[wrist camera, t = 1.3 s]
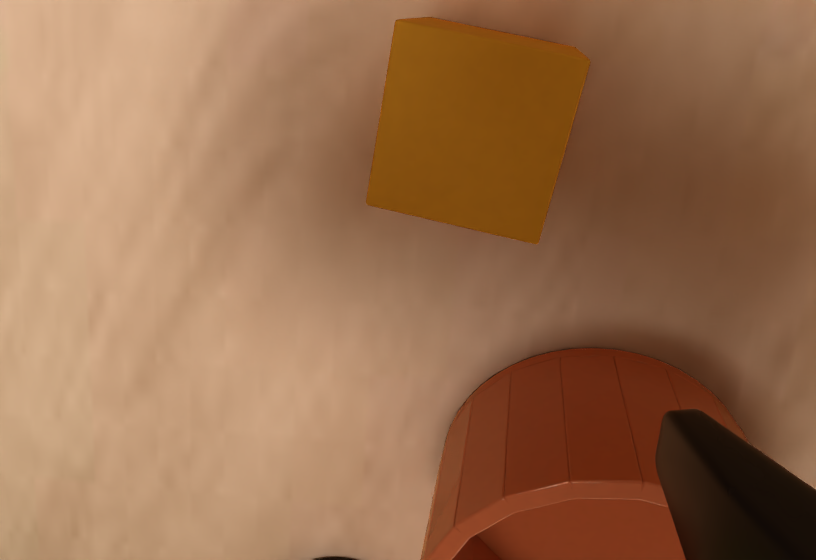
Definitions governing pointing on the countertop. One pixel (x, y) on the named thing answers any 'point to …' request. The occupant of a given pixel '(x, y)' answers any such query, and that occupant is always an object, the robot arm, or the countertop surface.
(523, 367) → the crock
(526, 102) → the block
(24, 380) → the countertop surface
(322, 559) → the coaster
